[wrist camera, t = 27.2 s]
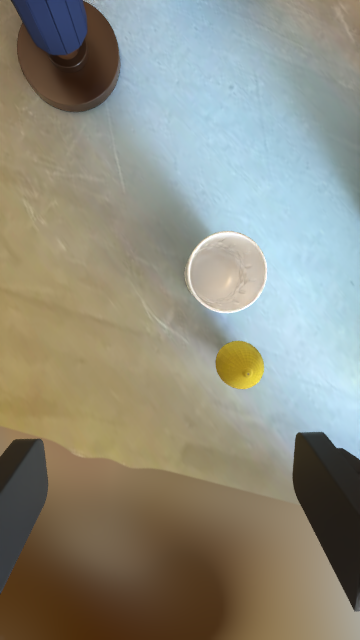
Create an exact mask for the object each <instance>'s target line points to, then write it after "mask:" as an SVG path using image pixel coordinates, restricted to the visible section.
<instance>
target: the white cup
mask: <svg viewBox="0 0 360 640" xmlns="http://www.w3.org/2000/svg"><path fill="white" fill-rule="evenodd" d="M184 276H185V282H186V285H187V287H188V289H189V291H190V292H191V294H192V295H193V296H194V297H195V298H196V299H197V300H198V301H199V302H200V303H201V304H202V305H204V306H205V307H207V308H208V309H211V310H213V311H216V312H221V313H232V312H237V311H240V310H243V309H245V308H246V307H248V306H250V305H251V304H252V303H253V302H254V301H255V300H256V299H257V298H258V297H259V295H260V294H261V292H262V290H263V288H264V286H265V283H266V278H267V264H266V260H265V257H264V255H263V252H262V251H261V249H260V248H259V246H258V245H257V244H256V243H255V242H254V241H253V240H252V239H250V238H249V237H247V236H246V235H244V234H241V233H238V232H233V231H223V232H218V233H214V234H212V235H210V236H208V237H206V238H205V239H204V240H202V241H201V242H200V243H199V244H198V245H197V246H196V248H195V249H194V251H193V252H192V253H191V255H190V257H189V258H188V261H187V263H186V266H185V273H184Z"/></svg>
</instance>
